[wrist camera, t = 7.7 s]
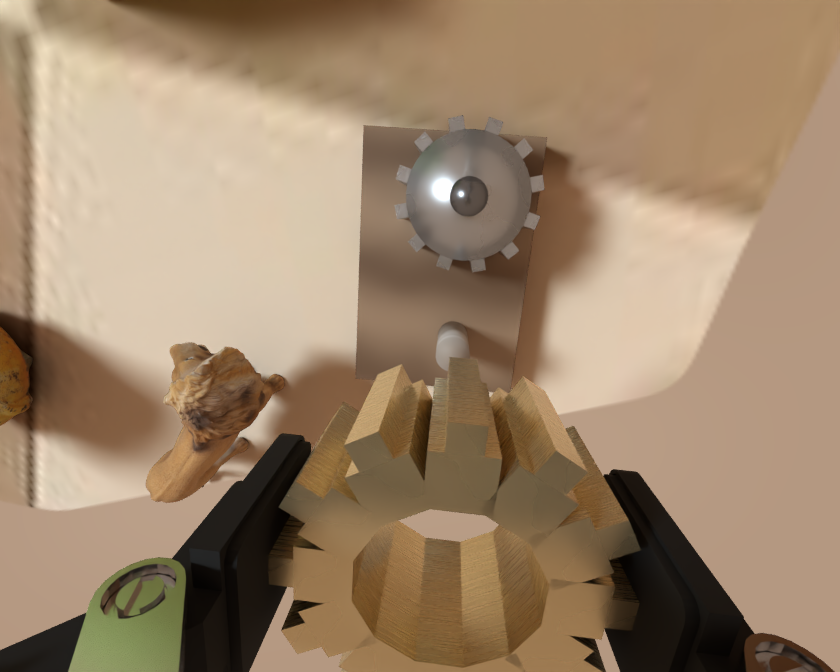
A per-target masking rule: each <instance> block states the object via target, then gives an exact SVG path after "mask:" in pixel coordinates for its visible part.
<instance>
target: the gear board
mask: <svg viewBox="0 0 840 672" xmlns="http://www.w3.org/2000/svg"><path fill="white" fill-rule="evenodd" d="M424 132H426V133H427V135H428V136H429V137H430V138H431V140H432V141H433V142H434V141H435V140H437V139H439V138H440V137H442V136H444V135H446V134H449V131H442V130H427V129H412V128H396V127H381V126H366V125H364V133H363V164H362V196H361V227H360V259H359V290H358V321H357V353H356V378H357V379H368V380H375V379H376V377H377V375H378V374H380V373H382V372H385V371H387V370H389V369H392V368H394V367H396V366H399V365H401V364H402V365H403V367H404V369H405V371H406V373H407V375H408V377H409V379H410V381H411V383H412V384H413V383H416V382H418V381H420V380H423V381H424V383H425V385H429V386H434V385H435V378H444V379H447V376H448V367H449V357H456V358H466V359H476V360H477V361H478V367H479V373H480V379H481V382H483V383H487V387H488V391H490V392H495V391H496V390H497V389H498V387H499V388H501V389H502V390H504V391H505V392H506V393H509V392H510V389H511V382H512V376H513V369H514V362H515V355H516V348H517V341H518V334H519V328H520V321H521V314H522V307H523V300H524V293H525V286H526V280H527V273H528V266H529V259H530V252H531V245H532V238H533V232H534V230H532V229H525V228H521V230H520V232H519V233H518V235H517V236H516V237H515V238H514V239H513V240H512V242H513V243H514V245H515V246H516V247H517V248H518V250H519V251H518V252H517V253H516V254H515V255H513V256H512V257H511V258H510V259H507V258H505V257H504V256H503V255H501V253H500V252H497V253H495V254H493V255H491V256H488V257H486V258H484V261H485V267H486V270H483V271H478V272H472V270H471V267H470V262H469V261H461V260H455V259H453V260H452V263H451V266H450V268H449V270H446V269H443V268H441V267H438V266H436V265H437V262H438V259H439V256H440V254H438V253H437V252H435V251H433V250H432V249H431V248H429V247H428V246H427V245H426V244H425V245H424V246H423V247H422V248H421V249H420V250H419V251H417V252H416V251H415V250H414V249H413V247H412V246H411V245H410V244H409V243H408V241H409V240H410V239H411V238H413V237H414V236H415V235H416V234H417V233H416V232H415V230H414V228H413V226H412V224H411V221H410V219H409V218H407V219H397V217H396V211H395V206H394V205H398V204H403V203H406V190H407V185H404V184H402V183H401V182H399V181H398V180H396V176H397V173H398V170H399V167H400V165H402V166H405V167H407V168H410V169H412V168H413V166H414V164H415V162H416V160H417V159H418V158H419V156H420V155H421V153H420V152H419V151H418V149H417V147H416V145H415V143H414V142H415V141H416V140H417V139H418V138H419V137H420V136H421V135H422V134H423V133H424ZM498 136H500V137H501V138H503V139H504V140H506V141H507V142H508V143H509V144H511V145H512V146H513V147H515V146H516V145H517V144H518V143H519V142H520V141H521V140H523V139H524V138H525V140H526V141H527V142H528V144H529V145H530V146H531V148H532V149H533V151H531V152H530V153H529V154H528V155H527V156H526V157H525V158H523V161H524V163H525V165H526V167H527V170H528V173H529V176H530V177H535V176H540V175H542V170H543V163H544V156H545V149H546V142H547V137H534V136H519V135H503V134H499V135H498ZM538 197H539V192H536V193H532V194H531V204H530V209H529V212H530V213H533V214H536V211H537V204H538Z"/></svg>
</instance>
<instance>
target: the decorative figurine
mask: <svg viewBox="0 0 840 672" xmlns="http://www.w3.org/2000/svg"><path fill="white" fill-rule="evenodd" d="M32 360H33V359H32V357H30V356H29V355H27V354H26V353H24V352H23V351H21V350H20V349H19V348H18V347H17V345H16V343H15V342H14V340H13V339H12V338H11V337H10V336H9V335H8V334H7V333H6V332H5V331H4V330H3V329H2V328H1V327H0V426H1V425H2V424H4V423H6V422H7V421H9V420H10V419H11V418H13V417H14V416H15V415H17V414H20V413H23V412H24V411H26V410H27V409H28V408H30V405H31V402H32V400H33V399H32V397H31V396H30V394H29V392H28V390H29V386H30V380H29V369H30V366H31V364H32Z"/></svg>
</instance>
